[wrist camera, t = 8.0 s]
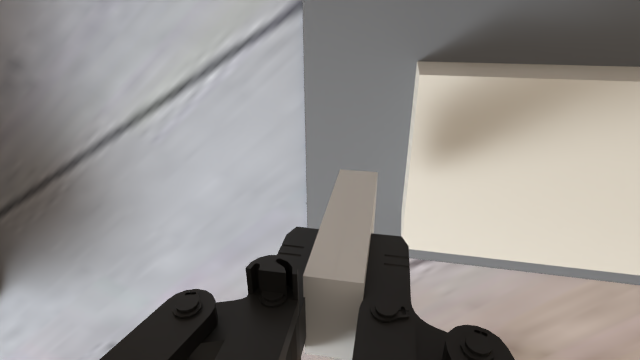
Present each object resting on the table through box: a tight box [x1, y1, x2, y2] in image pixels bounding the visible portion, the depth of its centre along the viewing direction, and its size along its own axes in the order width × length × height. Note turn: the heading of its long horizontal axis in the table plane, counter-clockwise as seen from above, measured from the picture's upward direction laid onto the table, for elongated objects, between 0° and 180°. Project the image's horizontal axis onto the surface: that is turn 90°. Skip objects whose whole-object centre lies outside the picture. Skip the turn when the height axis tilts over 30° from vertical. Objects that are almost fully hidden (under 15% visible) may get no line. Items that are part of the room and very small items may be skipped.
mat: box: [303, 0, 640, 285], centre depth 21 cm, size 22×16×1 cm
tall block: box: [401, 61, 640, 275], centre depth 19 cm, size 4×9×12 cm
